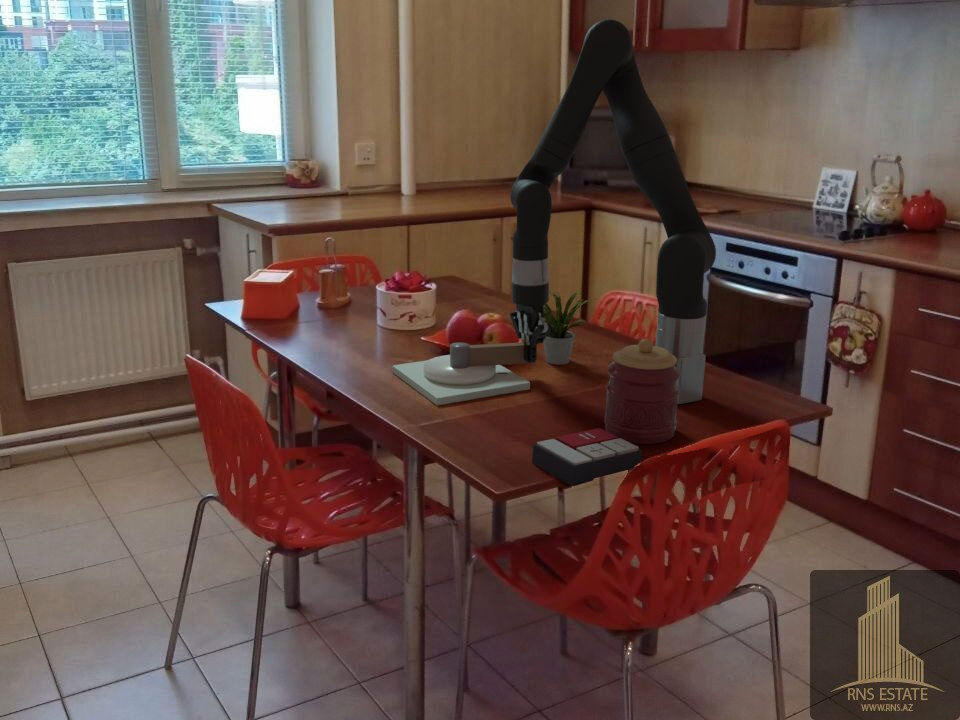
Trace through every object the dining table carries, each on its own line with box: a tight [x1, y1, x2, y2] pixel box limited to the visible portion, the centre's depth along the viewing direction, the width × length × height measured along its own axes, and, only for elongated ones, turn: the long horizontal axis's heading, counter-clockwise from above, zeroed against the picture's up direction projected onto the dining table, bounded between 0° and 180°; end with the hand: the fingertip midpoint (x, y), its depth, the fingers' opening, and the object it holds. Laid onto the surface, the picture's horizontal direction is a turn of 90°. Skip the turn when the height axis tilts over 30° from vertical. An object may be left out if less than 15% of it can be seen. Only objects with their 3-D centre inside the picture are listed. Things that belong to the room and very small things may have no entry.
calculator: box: [531, 427, 643, 487], centre depth 157 cm, size 11×4×15 cm
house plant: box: [543, 290, 597, 366], centre depth 208 cm, size 14×14×16 cm
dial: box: [424, 342, 536, 385], centre depth 196 cm, size 24×15×6 cm, turn 103°
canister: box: [603, 338, 681, 445], centre depth 169 cm, size 13×13×18 cm
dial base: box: [391, 359, 531, 406], centre depth 196 cm, size 22×21×2 cm
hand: (530, 361), depth 195 cm, fingers closed
